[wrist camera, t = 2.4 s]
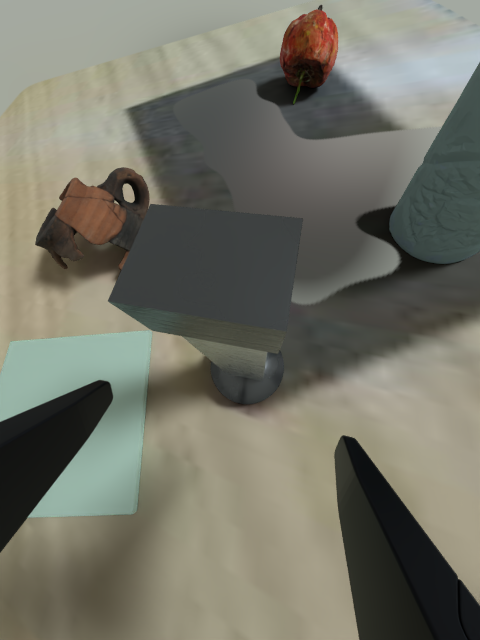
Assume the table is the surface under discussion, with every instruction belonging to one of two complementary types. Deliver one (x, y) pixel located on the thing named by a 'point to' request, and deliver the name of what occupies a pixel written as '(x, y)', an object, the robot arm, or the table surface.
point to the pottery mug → (95, 216)
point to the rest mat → (111, 432)
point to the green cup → (445, 189)
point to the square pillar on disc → (216, 289)
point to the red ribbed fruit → (309, 50)
